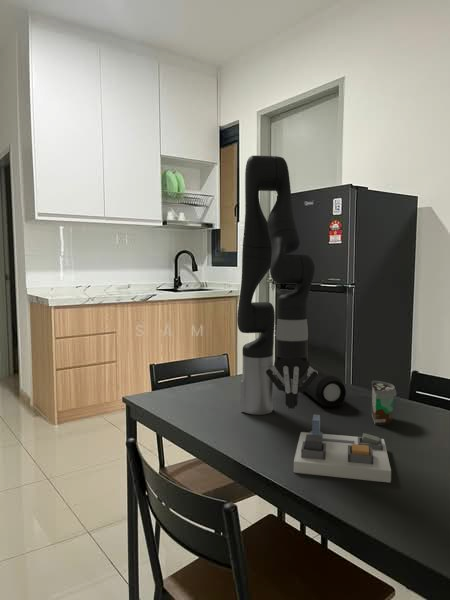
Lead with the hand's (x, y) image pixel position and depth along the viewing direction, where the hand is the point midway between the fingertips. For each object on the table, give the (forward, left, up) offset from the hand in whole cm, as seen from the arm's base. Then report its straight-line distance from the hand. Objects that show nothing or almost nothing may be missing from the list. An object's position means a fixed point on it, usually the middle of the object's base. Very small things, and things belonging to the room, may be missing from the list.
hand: (291, 407), depth 115 cm
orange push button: (+16, -9, -7) cm, 20 cm away
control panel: (+12, -5, -10) cm, 16 cm away
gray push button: (+6, -9, -6) cm, 12 cm away
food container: (+24, +26, -10) cm, 37 cm away
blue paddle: (+6, 0, -7) cm, 9 cm away
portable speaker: (+4, +45, -10) cm, 46 cm away
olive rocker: (+18, -1, -7) cm, 20 cm away
